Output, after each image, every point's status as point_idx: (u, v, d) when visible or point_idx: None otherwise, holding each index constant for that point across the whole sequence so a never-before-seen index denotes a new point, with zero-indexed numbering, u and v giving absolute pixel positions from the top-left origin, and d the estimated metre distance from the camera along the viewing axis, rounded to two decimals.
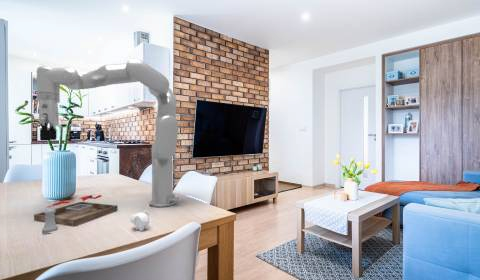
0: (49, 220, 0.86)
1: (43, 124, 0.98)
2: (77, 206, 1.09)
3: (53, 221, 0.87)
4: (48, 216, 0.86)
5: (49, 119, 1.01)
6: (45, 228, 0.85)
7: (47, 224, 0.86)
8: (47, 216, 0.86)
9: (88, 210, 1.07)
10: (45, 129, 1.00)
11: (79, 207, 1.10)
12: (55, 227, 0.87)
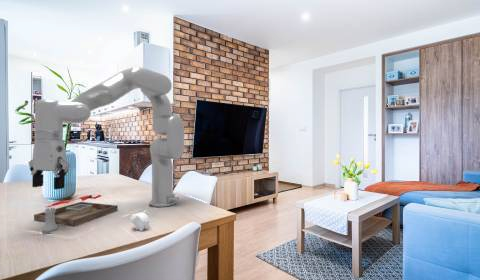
0: (49, 220, 0.86)
1: (66, 170, 0.84)
2: (77, 206, 1.09)
3: (53, 221, 0.87)
4: (48, 216, 0.86)
5: None
6: (45, 228, 0.85)
7: (47, 224, 0.86)
8: (47, 216, 0.86)
9: (88, 210, 1.07)
10: (63, 176, 0.85)
11: (79, 207, 1.10)
12: (55, 227, 0.87)
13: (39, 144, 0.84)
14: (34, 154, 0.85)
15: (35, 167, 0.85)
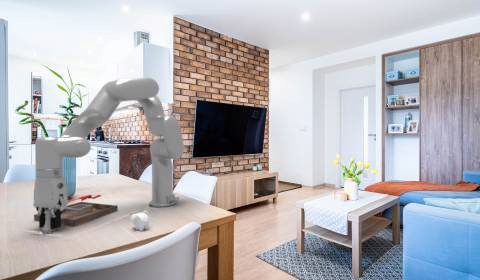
0: (49, 220, 0.86)
1: (62, 211, 0.86)
2: (77, 206, 1.09)
3: None
4: (48, 216, 0.86)
5: None
6: (45, 228, 0.85)
7: (47, 224, 0.86)
8: (47, 216, 0.86)
9: (88, 210, 1.07)
10: (58, 216, 0.86)
11: (79, 207, 1.10)
12: None
13: (40, 182, 0.85)
14: (35, 191, 0.86)
15: (36, 204, 0.86)
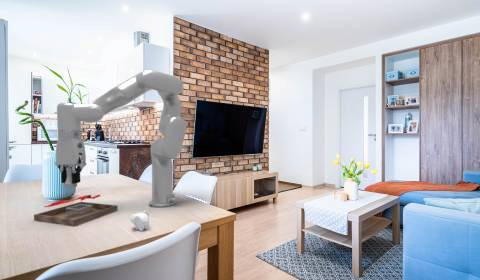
0: (70, 176, 0.98)
1: (81, 168, 0.98)
2: (77, 206, 1.09)
3: None
4: (69, 172, 0.98)
5: None
6: (67, 182, 0.98)
7: (68, 179, 0.98)
8: (68, 172, 0.98)
9: (88, 210, 1.07)
10: (78, 172, 0.99)
11: (79, 207, 1.10)
12: None
13: (62, 142, 0.97)
14: (57, 151, 0.98)
15: (59, 162, 0.98)
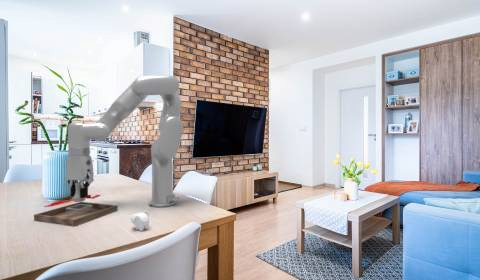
0: (78, 190, 1.05)
1: (89, 183, 1.05)
2: (77, 206, 1.09)
3: None
4: (78, 187, 1.05)
5: None
6: (75, 197, 1.05)
7: (77, 193, 1.05)
8: (77, 187, 1.05)
9: (88, 210, 1.07)
10: (86, 187, 1.06)
11: (79, 207, 1.10)
12: None
13: (72, 159, 1.04)
14: (67, 167, 1.05)
15: (68, 177, 1.05)
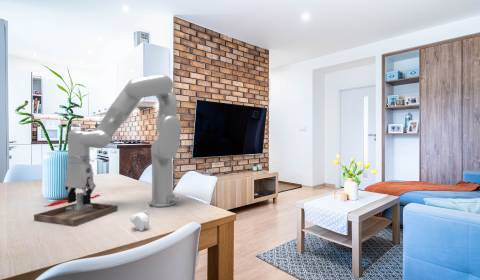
0: (79, 202, 1.06)
1: (92, 189, 1.05)
2: None
3: (82, 203, 1.07)
4: (79, 199, 1.05)
5: None
6: (76, 208, 1.05)
7: (78, 205, 1.05)
8: (78, 199, 1.05)
9: (88, 210, 1.07)
10: (89, 194, 1.05)
11: None
12: None
13: (72, 167, 1.04)
14: (67, 175, 1.05)
15: (68, 185, 1.05)
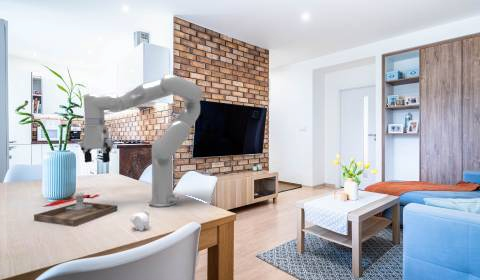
0: (79, 202, 1.06)
1: (111, 147, 1.11)
2: None
3: (82, 203, 1.07)
4: (78, 199, 1.06)
5: None
6: None
7: (78, 205, 1.05)
8: (78, 199, 1.05)
9: (88, 210, 1.07)
10: (108, 152, 1.12)
11: None
12: None
13: (89, 128, 1.10)
14: (85, 137, 1.11)
15: (86, 146, 1.12)
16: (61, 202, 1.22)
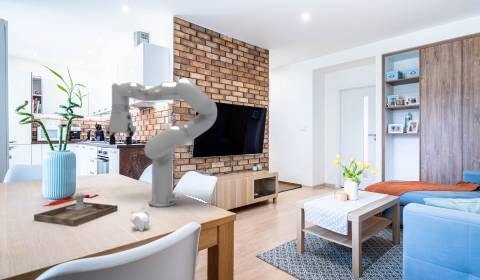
0: (79, 202, 1.06)
1: (134, 132, 1.22)
2: None
3: (82, 203, 1.07)
4: (78, 199, 1.06)
5: (131, 127, 1.24)
6: None
7: (78, 205, 1.05)
8: (78, 199, 1.05)
9: (88, 210, 1.07)
10: (131, 136, 1.23)
11: None
12: None
13: (115, 114, 1.22)
14: (111, 121, 1.23)
15: (112, 130, 1.23)
16: (60, 202, 1.22)
